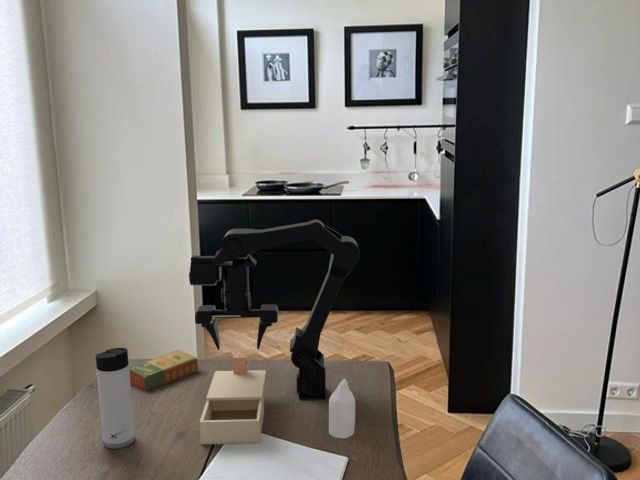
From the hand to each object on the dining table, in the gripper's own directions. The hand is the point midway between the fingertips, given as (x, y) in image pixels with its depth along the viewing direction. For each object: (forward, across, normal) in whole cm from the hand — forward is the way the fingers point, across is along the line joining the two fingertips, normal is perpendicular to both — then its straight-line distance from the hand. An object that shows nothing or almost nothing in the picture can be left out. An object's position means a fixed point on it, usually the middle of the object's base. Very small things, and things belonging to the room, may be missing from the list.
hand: (238, 348), depth 147 cm
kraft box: (+12, 0, +15) cm, 19 cm away
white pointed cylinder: (+12, -23, +18) cm, 32 cm away
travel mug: (+12, +23, +20) cm, 33 cm away
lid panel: (+6, 0, +6) cm, 9 cm away
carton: (+12, +21, -12) cm, 27 cm away
